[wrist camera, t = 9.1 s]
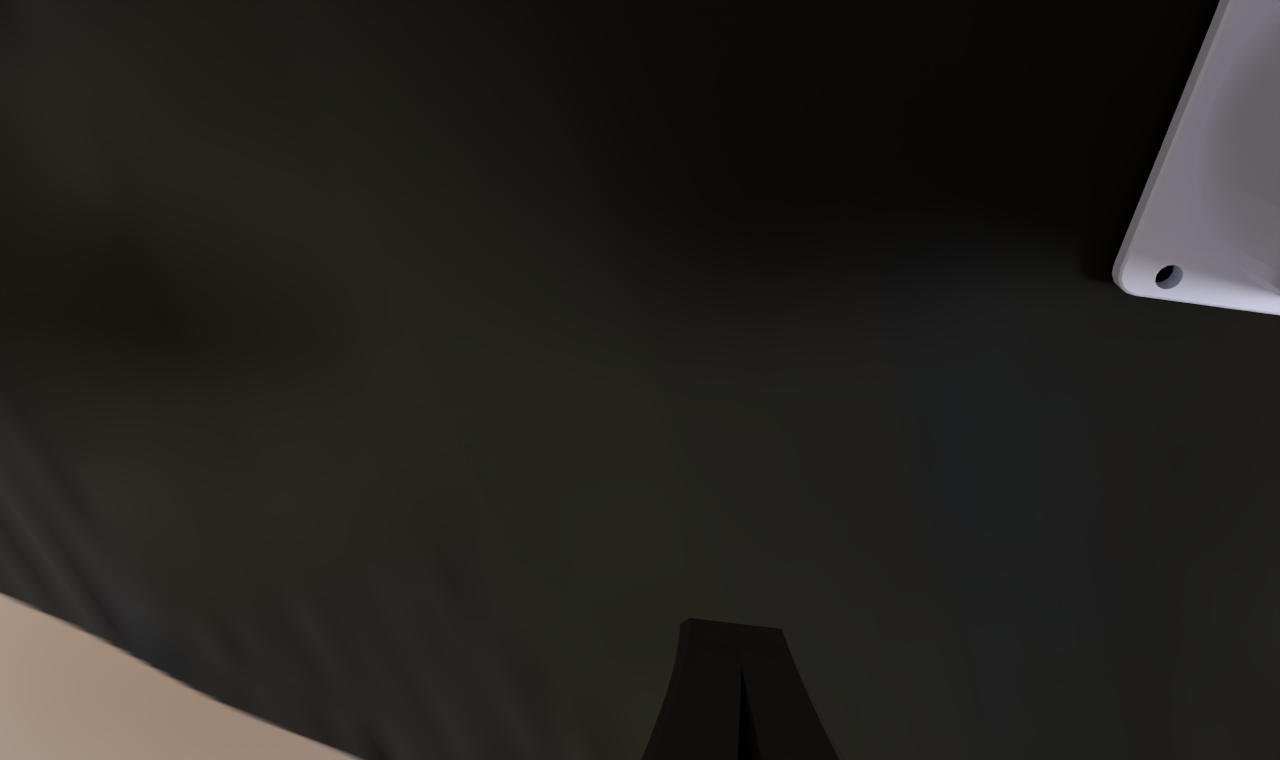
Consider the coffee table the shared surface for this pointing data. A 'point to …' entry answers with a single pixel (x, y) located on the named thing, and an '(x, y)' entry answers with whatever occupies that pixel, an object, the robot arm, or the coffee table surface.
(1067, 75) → the coffee table surface
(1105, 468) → the coffee table surface
